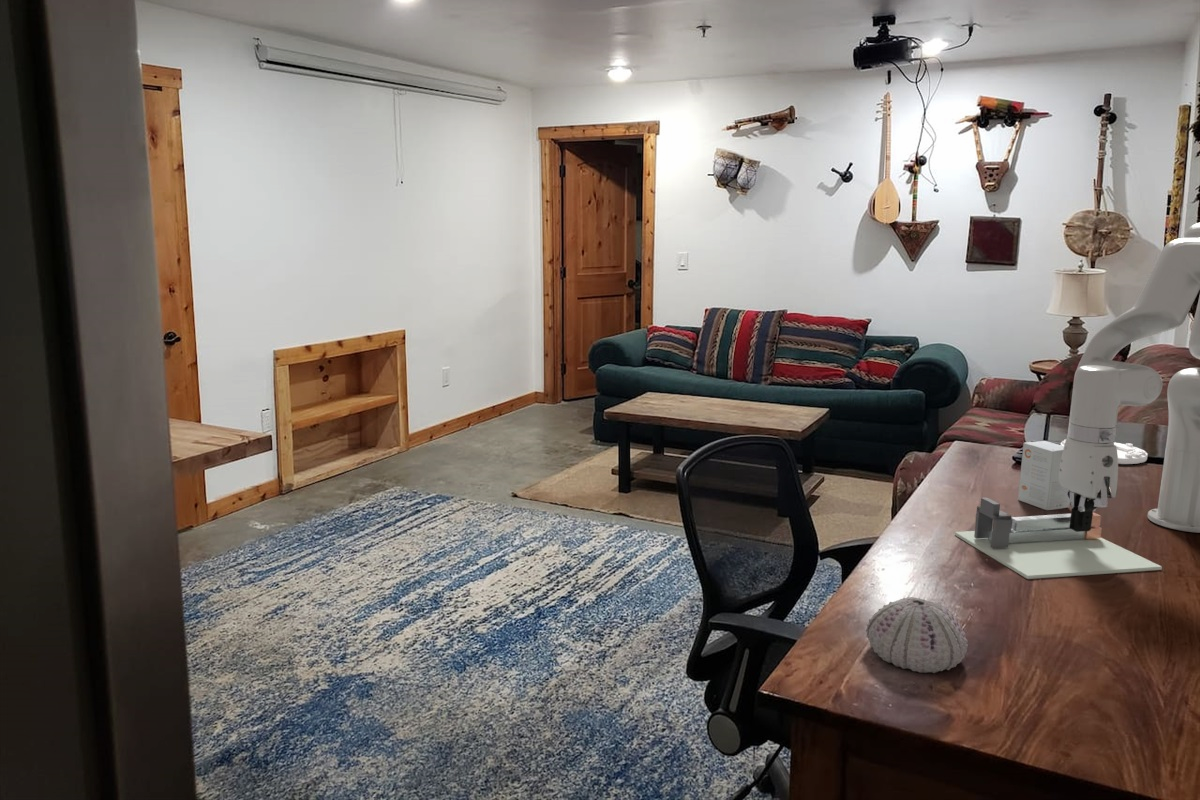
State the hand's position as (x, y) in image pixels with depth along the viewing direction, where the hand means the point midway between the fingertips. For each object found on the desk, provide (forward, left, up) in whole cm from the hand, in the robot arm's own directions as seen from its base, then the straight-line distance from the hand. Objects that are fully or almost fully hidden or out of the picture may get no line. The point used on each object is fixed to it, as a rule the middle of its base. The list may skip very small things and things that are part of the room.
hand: (1079, 529), depth 165 cm
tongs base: (+5, -3, -3) cm, 7 cm away
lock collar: (+16, -3, -4) cm, 17 cm away
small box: (-11, -25, -4) cm, 27 cm away
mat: (+6, +1, -4) cm, 7 cm away
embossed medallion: (-54, -60, -4) cm, 81 cm away
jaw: (+3, -3, 0) cm, 4 cm away
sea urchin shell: (+52, +34, -4) cm, 62 cm away
